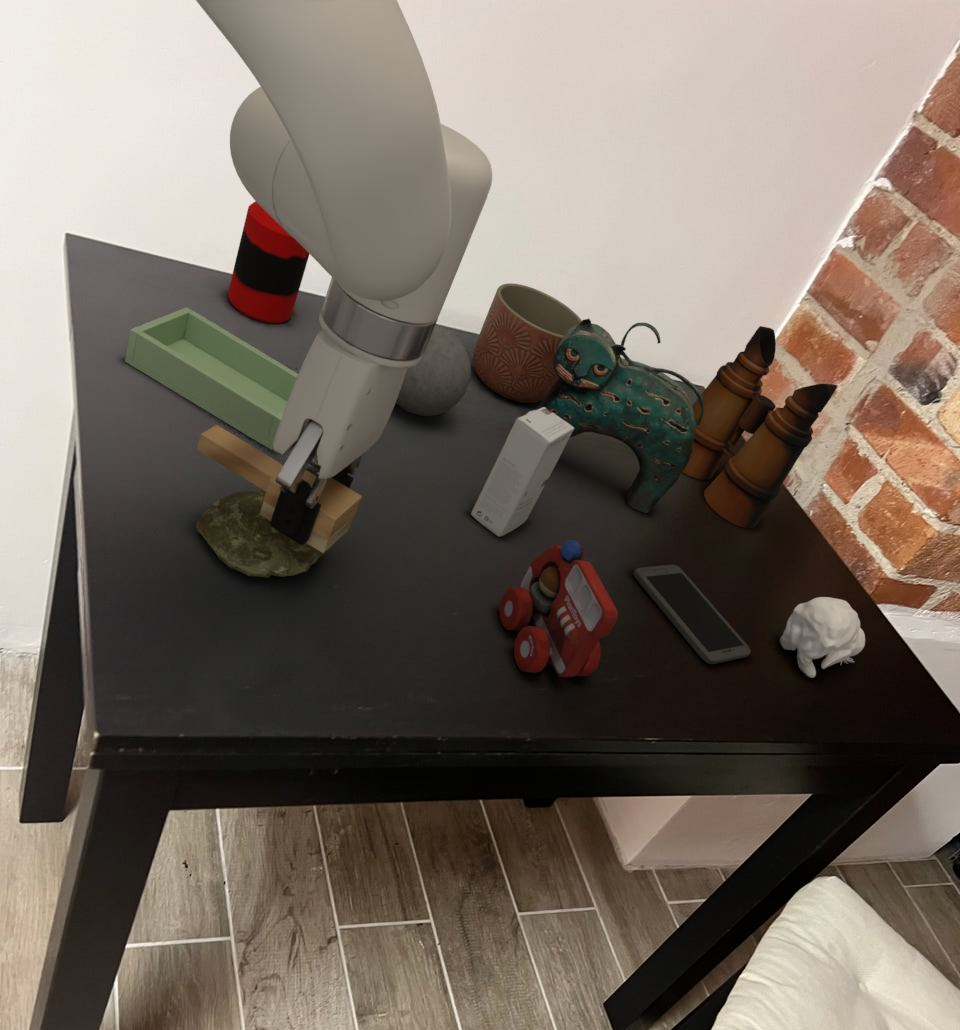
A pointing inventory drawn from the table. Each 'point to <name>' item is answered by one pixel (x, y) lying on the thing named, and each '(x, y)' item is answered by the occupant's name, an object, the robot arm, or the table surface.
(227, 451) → the brush
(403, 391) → the decorative ball
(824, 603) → the white frog figurine
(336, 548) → the table surface
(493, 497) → the cosmetic box
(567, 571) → the toy fire truck
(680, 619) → the cell phone
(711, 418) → the binoculars
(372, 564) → the table surface
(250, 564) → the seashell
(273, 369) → the bin
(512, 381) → the planter
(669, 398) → the ceramic cat
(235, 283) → the soda can
